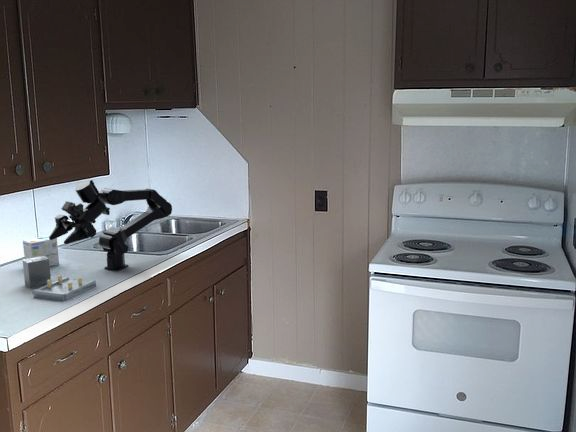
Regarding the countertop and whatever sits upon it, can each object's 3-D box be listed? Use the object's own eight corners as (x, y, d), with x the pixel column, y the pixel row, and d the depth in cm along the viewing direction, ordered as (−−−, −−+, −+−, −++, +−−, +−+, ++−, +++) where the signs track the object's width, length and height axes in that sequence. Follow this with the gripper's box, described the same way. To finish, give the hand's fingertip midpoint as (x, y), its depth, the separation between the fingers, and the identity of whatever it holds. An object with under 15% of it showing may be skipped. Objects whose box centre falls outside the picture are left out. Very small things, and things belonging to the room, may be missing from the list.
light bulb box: (50, 261, 229) (48, 234, 227) (60, 264, 224) (57, 237, 222) (24, 267, 221) (21, 239, 218) (33, 270, 216) (30, 242, 214)
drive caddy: (46, 280, 205) (44, 255, 203) (51, 283, 202) (49, 258, 200) (25, 284, 200) (22, 259, 199) (30, 288, 197) (27, 262, 195)
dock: (66, 282, 203) (65, 270, 202) (95, 285, 199) (95, 273, 198) (33, 296, 188) (32, 284, 187) (64, 301, 184) (63, 288, 184)
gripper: (64, 192, 209) (29, 219, 201) (94, 197, 198) (59, 226, 189) (79, 216, 216) (47, 243, 207) (110, 222, 204) (77, 252, 195)
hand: (57, 241), depth 199 cm, fingers open, 9 cm apart
